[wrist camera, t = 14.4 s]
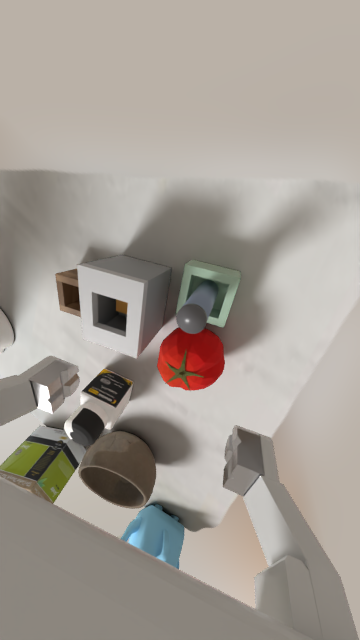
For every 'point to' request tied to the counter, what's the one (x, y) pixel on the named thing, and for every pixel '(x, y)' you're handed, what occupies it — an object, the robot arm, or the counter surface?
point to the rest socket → (220, 275)
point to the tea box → (43, 462)
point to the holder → (68, 292)
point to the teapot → (156, 534)
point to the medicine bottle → (99, 407)
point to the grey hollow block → (125, 285)
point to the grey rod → (197, 308)
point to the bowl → (119, 469)
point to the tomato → (191, 359)
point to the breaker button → (121, 306)
